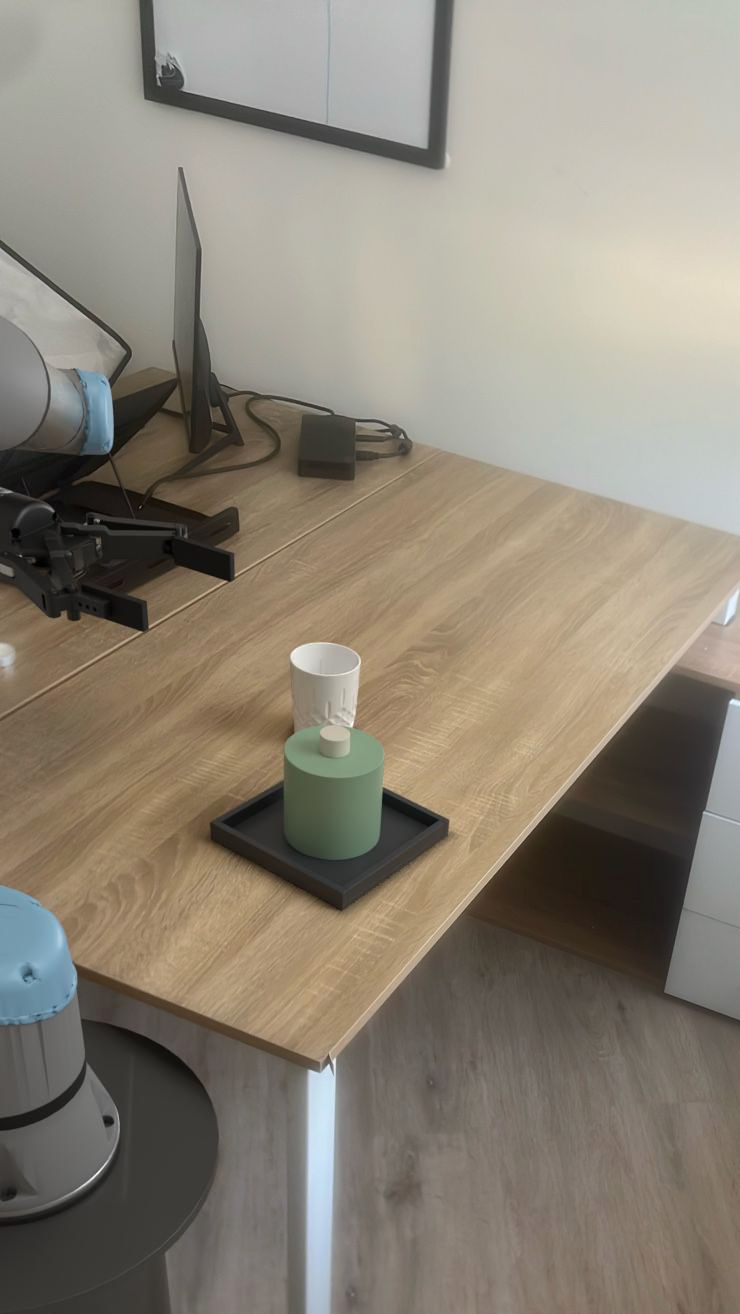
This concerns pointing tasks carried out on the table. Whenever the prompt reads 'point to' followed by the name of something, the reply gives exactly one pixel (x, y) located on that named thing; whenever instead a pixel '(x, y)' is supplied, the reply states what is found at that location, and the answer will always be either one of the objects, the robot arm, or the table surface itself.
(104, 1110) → the robot arm
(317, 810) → the cover
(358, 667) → the white cup
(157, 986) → the table surface
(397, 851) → the tray
